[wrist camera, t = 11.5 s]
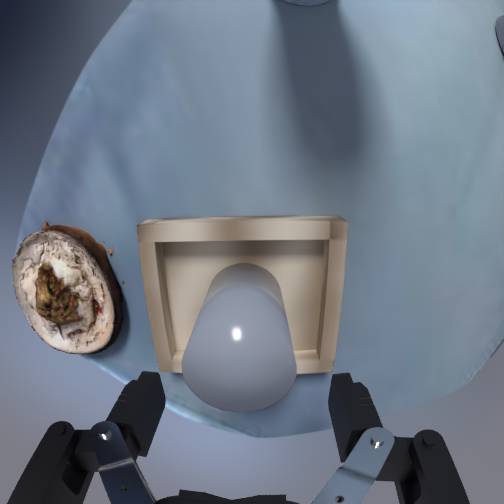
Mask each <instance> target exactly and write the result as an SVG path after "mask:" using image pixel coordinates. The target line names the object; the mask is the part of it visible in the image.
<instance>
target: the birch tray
mask: <svg viewBox="0 0 504 504" xmlns="http://www.w3.org/2000/svg"><path fill="white" fill-rule="evenodd" d="M347 227H348V221H346V220H344V219H343V218H341V217H339V216H231V217H194V218H167V219H148V220H146V221H144V222H142V223H140V224H138V225H137V234H138V243H139V252H140V261H141V269H142V276H143V283H144V290H145V297H146V303H147V309H148V315H149V320H150V326H151V331H152V336H153V342H154V346H155V351H156V356H157V361H158V365H159V370H160V371H163V372H175V373H182V366H181V365H182V358H183V354H184V351H185V349H186V346H187V343H188V341H189V338H190V335H191V333H192V330H193V327H194V325H195V322H196V320H197V317H198V314H199V312H200V309H201V307H202V304H203V301H204V299H205V296H206V294H207V291H208V289H209V286H210V284H211V282H212V280H213V278H214V277H215V276H216V275H217V274H218V273H219V272H220V271H221V270H223V269H224V268H226V267H228V266H230V265H233V264H238V263H251V264H255V265H258V266H261V267H263V268H265V269H266V270H268V271H269V272H270V273H271V274H272V275H273V276H274V277H275V278H276V280H277V281H278V283H279V285H280V288H281V292H282V297H283V302H284V306H285V311H286V316H287V321H288V325H289V330H290V335H291V340H292V345H293V350H294V355H295V360H296V365H297V374H306V373H322V372H333V366H334V359H335V353H336V346H337V338H338V331H339V323H340V314H341V305H342V295H343V285H344V273H345V260H346V245H347Z"/></svg>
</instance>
